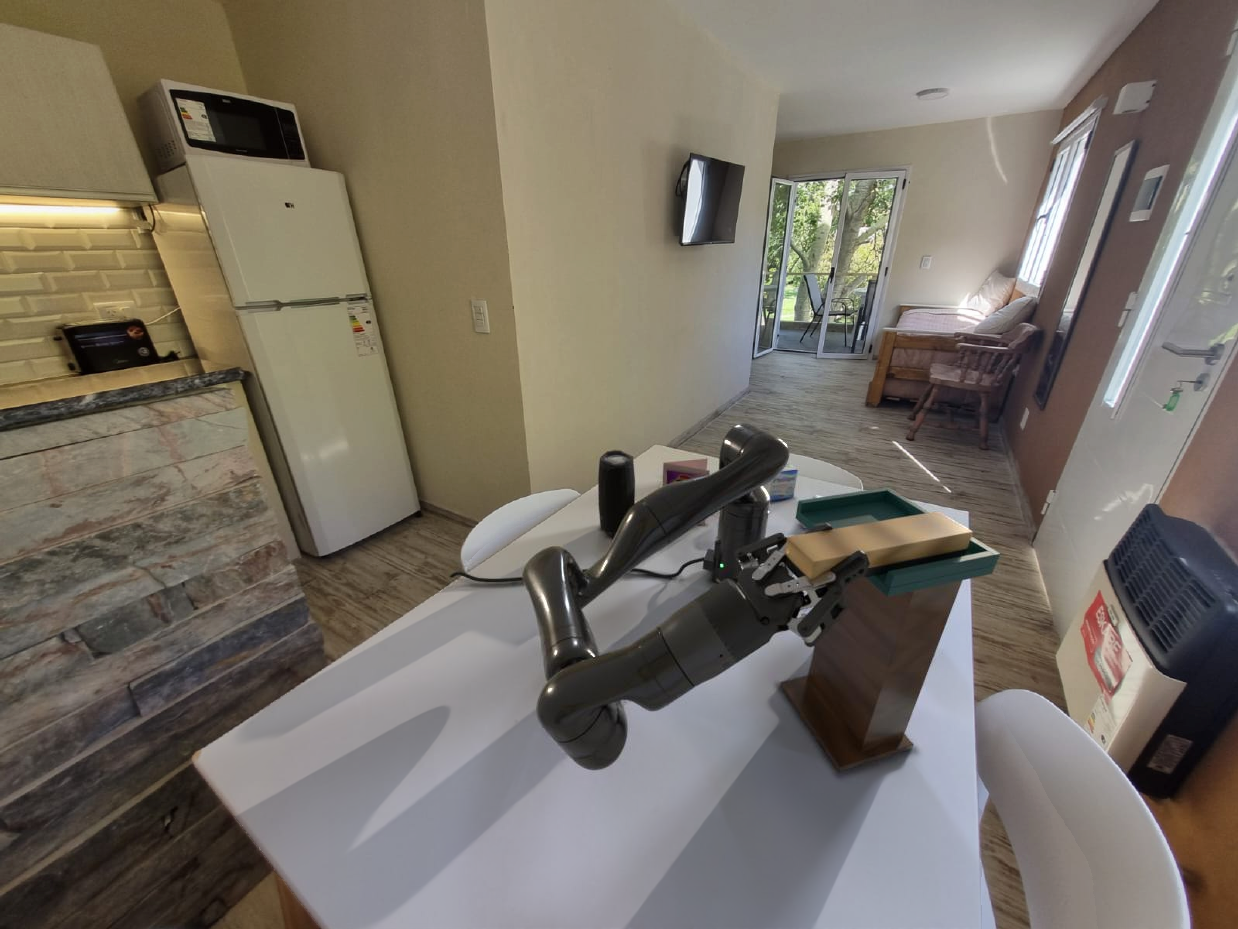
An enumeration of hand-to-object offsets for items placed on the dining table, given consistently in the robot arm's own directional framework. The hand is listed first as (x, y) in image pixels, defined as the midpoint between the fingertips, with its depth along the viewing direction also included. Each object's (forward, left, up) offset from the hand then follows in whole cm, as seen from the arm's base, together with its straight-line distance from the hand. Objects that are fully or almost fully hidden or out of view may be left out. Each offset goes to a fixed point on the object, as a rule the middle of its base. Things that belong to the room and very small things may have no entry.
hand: (847, 543), depth 50 cm
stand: (+5, +9, -35) cm, 36 cm away
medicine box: (-9, +76, -35) cm, 84 cm away
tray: (+5, +9, -4) cm, 11 cm away
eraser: (+3, +3, -3) cm, 5 cm away
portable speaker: (-44, +44, -35) cm, 71 cm away
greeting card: (-30, +57, -35) cm, 73 cm away
